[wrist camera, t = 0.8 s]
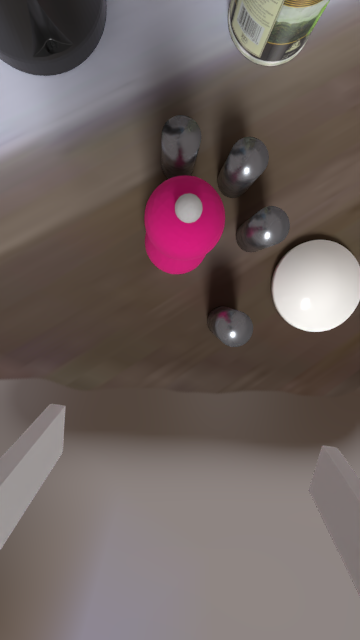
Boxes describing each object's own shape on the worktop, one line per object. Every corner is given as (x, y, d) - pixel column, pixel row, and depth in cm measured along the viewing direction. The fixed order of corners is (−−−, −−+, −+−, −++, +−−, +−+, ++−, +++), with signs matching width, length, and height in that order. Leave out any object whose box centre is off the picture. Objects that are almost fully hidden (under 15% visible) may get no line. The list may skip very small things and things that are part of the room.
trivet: (298, 224, 38) (302, 222, 37) (373, 267, 40) (379, 266, 39) (255, 306, 39) (257, 306, 38) (329, 345, 41) (334, 346, 40)
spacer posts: (176, 129, 36) (180, 92, 29) (301, 201, 38) (332, 183, 31) (104, 278, 38) (91, 277, 31) (228, 340, 40) (242, 352, 33)
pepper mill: (175, 205, 37) (191, 114, 17) (214, 247, 38) (272, 207, 18) (135, 246, 37) (104, 202, 18) (174, 286, 38) (188, 289, 18)
